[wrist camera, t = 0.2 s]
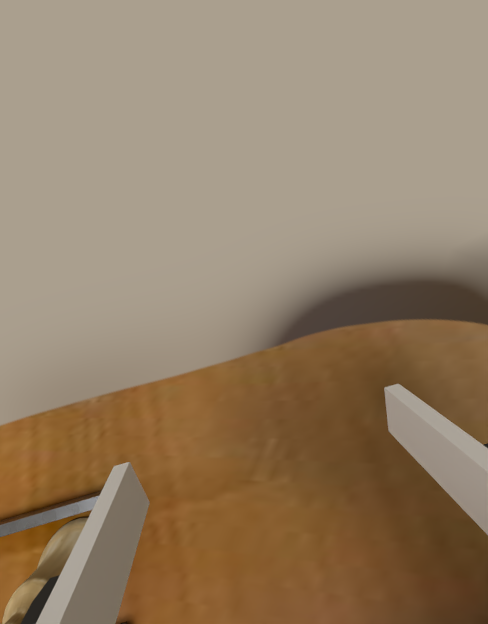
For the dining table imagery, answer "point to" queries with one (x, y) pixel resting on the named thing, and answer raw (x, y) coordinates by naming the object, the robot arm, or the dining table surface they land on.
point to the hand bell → (44, 570)
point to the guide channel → (49, 514)
